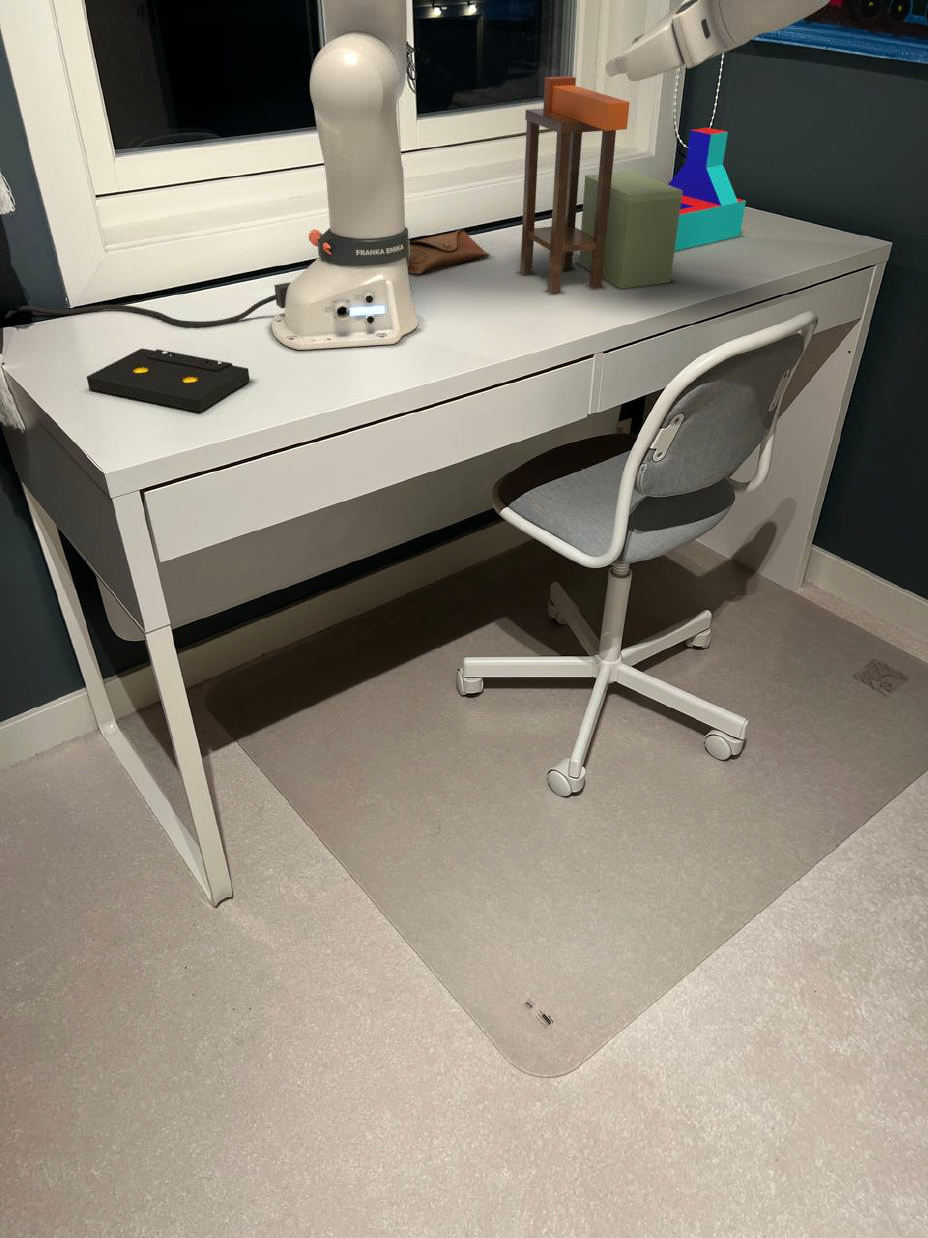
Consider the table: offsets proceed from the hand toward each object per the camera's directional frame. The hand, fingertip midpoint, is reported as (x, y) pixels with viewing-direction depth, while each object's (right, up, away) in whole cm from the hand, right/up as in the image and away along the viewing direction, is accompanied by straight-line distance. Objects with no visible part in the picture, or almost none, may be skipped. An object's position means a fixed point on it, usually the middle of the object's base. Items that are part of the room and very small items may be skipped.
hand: (622, 57), depth 134 cm
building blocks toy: (+18, 0, +60) cm, 63 cm away
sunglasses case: (-26, -13, +41) cm, 51 cm away
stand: (-5, -20, +33) cm, 39 cm away
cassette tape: (-62, -48, -5) cm, 78 cm away
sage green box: (+6, -17, +37) cm, 41 cm away
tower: (-4, -1, +14) cm, 15 cm away
